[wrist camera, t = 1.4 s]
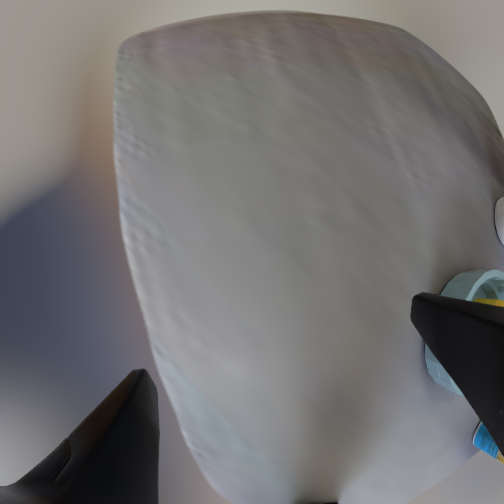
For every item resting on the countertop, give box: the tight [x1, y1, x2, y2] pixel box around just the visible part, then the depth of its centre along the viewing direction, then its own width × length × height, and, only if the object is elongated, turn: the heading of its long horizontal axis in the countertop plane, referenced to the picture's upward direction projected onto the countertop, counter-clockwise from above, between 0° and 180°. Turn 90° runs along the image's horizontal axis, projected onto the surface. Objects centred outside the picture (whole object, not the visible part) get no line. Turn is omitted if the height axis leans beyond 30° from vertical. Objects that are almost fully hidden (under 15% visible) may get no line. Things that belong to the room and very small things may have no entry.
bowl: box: [425, 269, 504, 397], centre depth 22 cm, size 15×15×5 cm
